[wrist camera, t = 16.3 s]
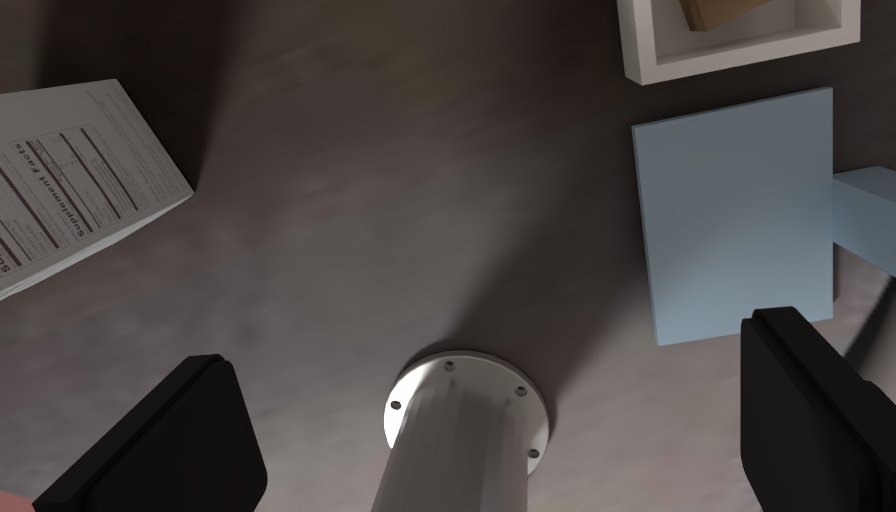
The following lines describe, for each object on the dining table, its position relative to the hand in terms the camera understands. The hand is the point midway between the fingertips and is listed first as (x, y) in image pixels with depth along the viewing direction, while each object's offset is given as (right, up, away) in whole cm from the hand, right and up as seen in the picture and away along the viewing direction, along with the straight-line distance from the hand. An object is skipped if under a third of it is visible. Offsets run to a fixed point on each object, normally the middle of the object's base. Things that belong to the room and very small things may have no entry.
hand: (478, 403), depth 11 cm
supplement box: (-25, +9, +32) cm, 41 cm away
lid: (+19, +5, +27) cm, 33 cm away
